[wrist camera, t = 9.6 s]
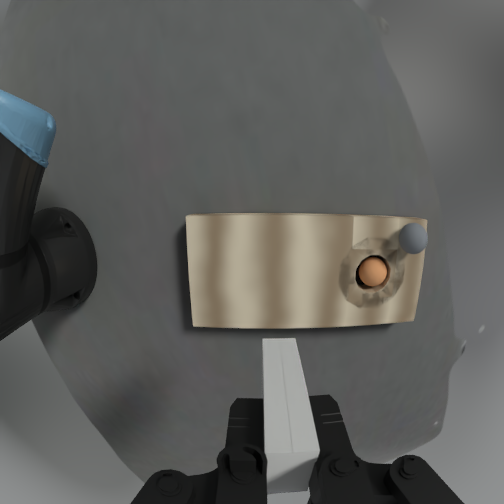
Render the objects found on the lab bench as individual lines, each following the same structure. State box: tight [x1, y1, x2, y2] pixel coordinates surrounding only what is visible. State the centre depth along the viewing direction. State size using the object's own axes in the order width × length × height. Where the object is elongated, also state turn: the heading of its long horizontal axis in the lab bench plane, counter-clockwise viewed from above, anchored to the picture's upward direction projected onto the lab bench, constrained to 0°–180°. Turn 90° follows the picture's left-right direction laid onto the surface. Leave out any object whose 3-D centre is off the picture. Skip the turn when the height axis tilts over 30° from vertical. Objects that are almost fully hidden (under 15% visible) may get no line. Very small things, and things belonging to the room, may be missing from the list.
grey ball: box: [399, 223, 428, 254], centre depth 27 cm, size 4×4×4 cm
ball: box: [359, 257, 387, 286], centre depth 31 cm, size 4×4×4 cm
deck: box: [186, 213, 427, 328], centre depth 32 cm, size 28×13×3 cm, turn 90°
